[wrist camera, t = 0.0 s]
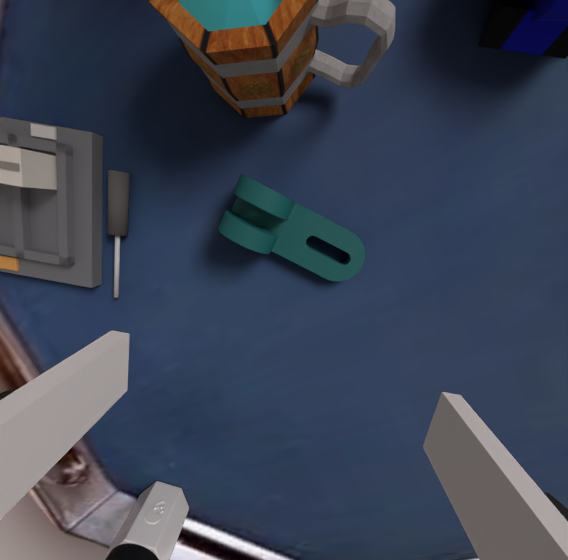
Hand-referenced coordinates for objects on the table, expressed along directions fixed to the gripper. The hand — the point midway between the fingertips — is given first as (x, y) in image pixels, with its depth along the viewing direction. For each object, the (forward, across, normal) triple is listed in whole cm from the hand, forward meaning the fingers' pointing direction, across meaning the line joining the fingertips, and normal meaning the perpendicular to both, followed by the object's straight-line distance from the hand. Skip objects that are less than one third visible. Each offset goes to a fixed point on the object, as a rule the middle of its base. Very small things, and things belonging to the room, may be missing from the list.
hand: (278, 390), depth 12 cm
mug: (+28, -5, +23) cm, 37 cm away
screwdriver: (+28, -24, 0) cm, 37 cm away
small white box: (+26, -33, +7) cm, 43 cm away
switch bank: (+28, -38, +2) cm, 47 cm away
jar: (+28, -15, -46) cm, 56 cm away
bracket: (+28, 0, +4) cm, 29 cm away
